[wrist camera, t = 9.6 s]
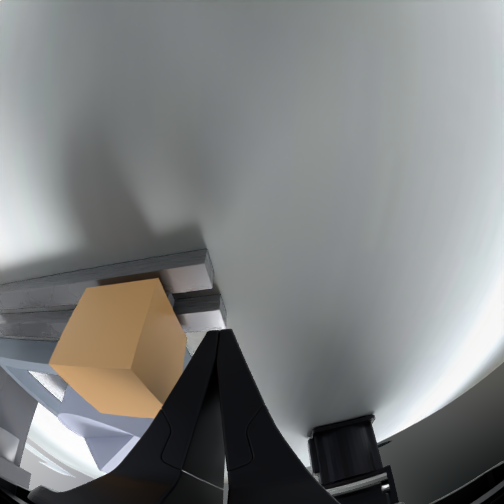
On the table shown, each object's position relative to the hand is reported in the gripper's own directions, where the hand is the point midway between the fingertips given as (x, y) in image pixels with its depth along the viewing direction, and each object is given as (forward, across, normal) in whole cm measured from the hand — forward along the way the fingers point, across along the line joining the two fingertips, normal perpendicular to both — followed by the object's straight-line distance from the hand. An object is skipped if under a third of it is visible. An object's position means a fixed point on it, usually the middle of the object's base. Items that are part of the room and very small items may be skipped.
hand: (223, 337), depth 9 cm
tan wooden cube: (+3, +4, 0) cm, 5 cm away
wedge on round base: (+3, +12, +15) cm, 20 cm away
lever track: (+3, +9, 0) cm, 9 cm away
